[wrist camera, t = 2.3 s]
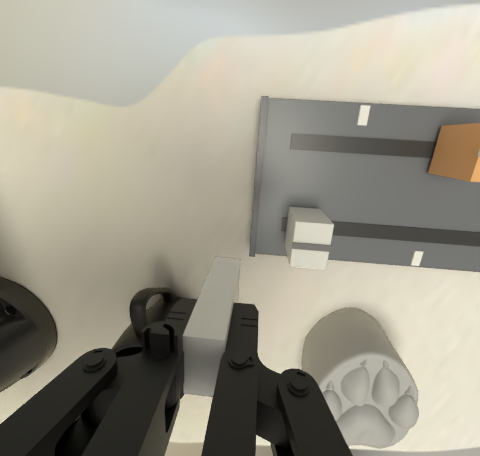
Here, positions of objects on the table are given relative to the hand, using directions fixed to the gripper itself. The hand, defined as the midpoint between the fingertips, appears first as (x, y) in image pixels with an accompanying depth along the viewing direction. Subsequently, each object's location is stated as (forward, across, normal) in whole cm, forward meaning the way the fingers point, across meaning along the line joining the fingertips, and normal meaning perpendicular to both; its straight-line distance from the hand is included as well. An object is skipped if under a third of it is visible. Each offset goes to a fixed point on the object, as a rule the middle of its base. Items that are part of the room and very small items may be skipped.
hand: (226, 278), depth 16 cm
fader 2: (+12, +18, +8) cm, 23 cm away
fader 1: (+12, +6, 0) cm, 13 cm away
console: (+14, +15, +4) cm, 21 cm away
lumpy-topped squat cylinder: (+14, +14, -17) cm, 26 cm away
